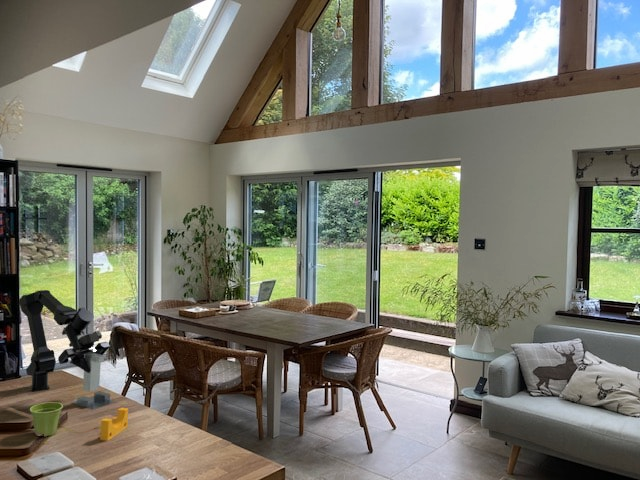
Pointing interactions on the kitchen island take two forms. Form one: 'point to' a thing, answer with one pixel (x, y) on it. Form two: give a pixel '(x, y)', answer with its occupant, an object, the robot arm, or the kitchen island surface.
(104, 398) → the vise
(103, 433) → the pipe clamp
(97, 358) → the grey upright block
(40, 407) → the plant pot
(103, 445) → the kitchen island surface
